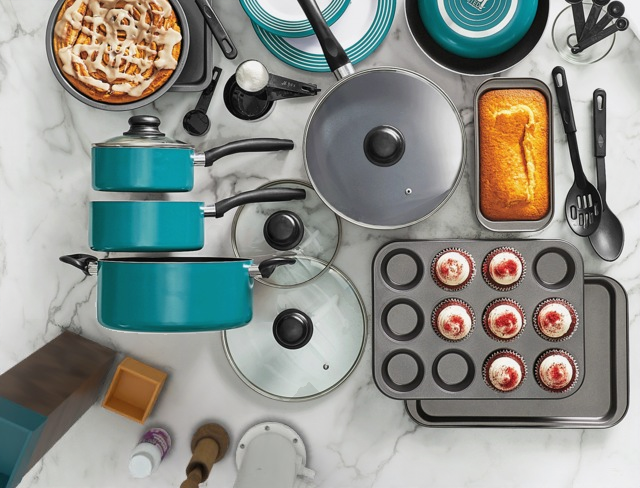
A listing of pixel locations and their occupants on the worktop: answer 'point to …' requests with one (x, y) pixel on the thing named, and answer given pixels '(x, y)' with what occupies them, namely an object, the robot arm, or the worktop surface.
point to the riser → (58, 384)
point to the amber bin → (134, 390)
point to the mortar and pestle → (205, 453)
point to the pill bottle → (149, 452)
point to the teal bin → (17, 440)
